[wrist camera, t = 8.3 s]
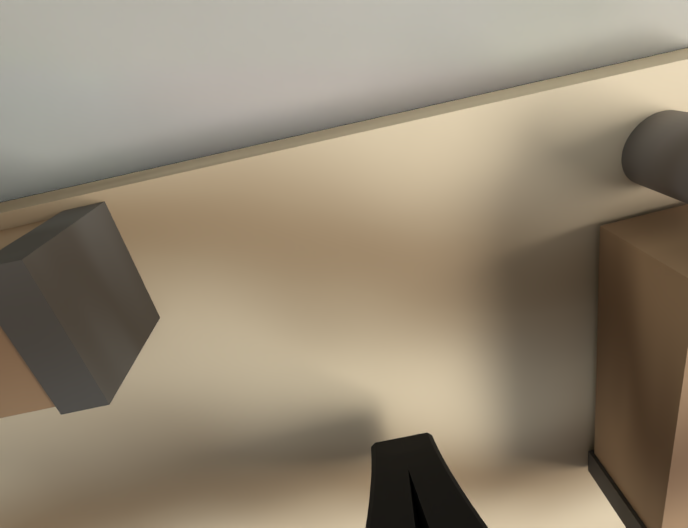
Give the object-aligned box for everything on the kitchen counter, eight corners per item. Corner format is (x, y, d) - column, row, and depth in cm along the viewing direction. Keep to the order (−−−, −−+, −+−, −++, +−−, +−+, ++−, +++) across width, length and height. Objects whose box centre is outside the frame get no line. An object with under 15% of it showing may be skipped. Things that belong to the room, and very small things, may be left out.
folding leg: (591, 225, 9) (695, 288, 6) (723, 192, 8) (879, 245, 6) (587, 470, 12) (654, 571, 10) (682, 449, 12) (773, 546, 9)
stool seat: (623, 562, 16) (704, 695, 13) (71, 666, 17) (12, 818, 14) (699, 44, 8) (959, 37, 5) (-334, 277, 9) (-715, 409, 6)
